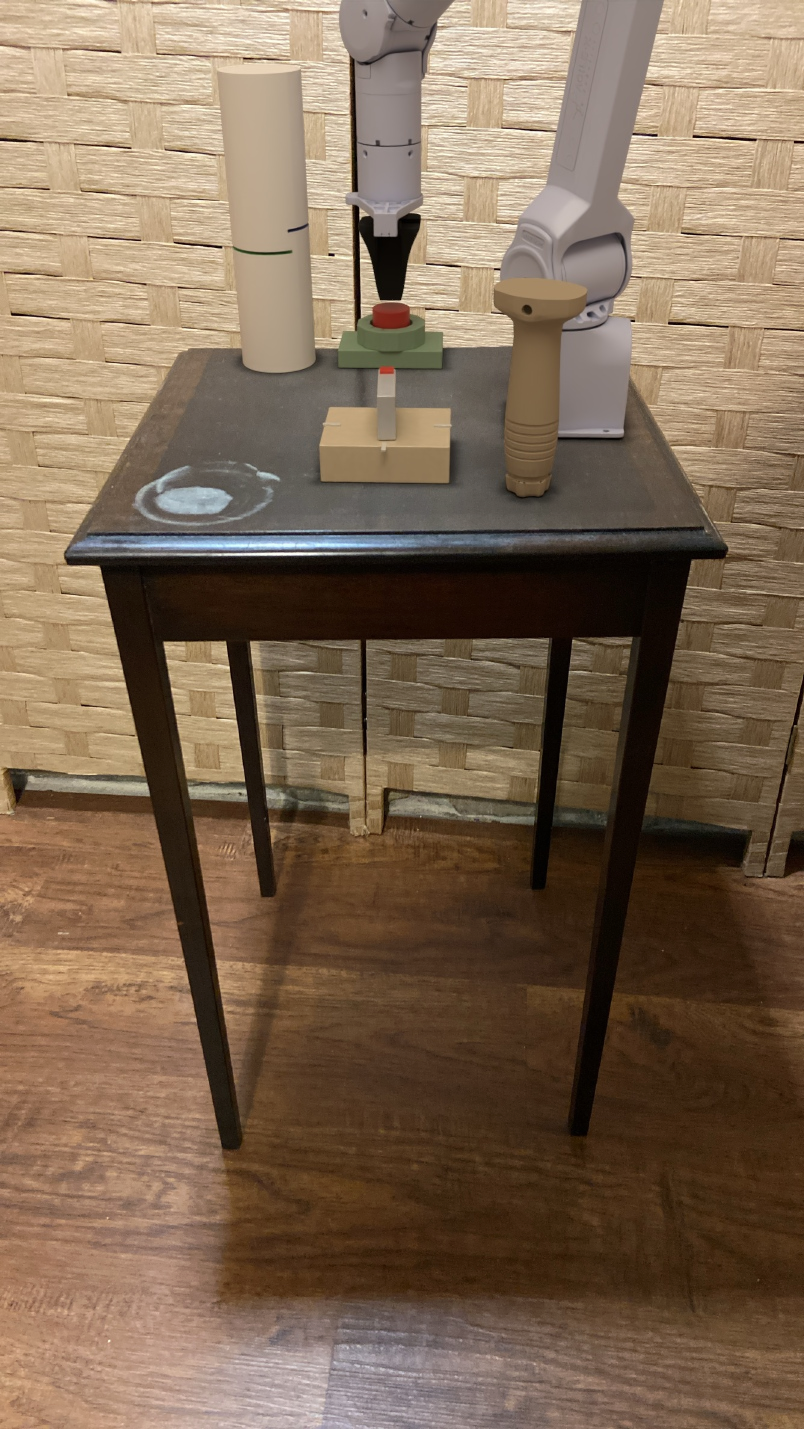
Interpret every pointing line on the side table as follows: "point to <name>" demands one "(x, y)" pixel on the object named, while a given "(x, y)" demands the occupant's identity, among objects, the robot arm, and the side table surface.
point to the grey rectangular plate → (386, 403)
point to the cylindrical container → (268, 213)
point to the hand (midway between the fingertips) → (390, 298)
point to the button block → (391, 346)
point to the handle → (534, 375)
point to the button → (391, 315)
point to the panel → (386, 446)
